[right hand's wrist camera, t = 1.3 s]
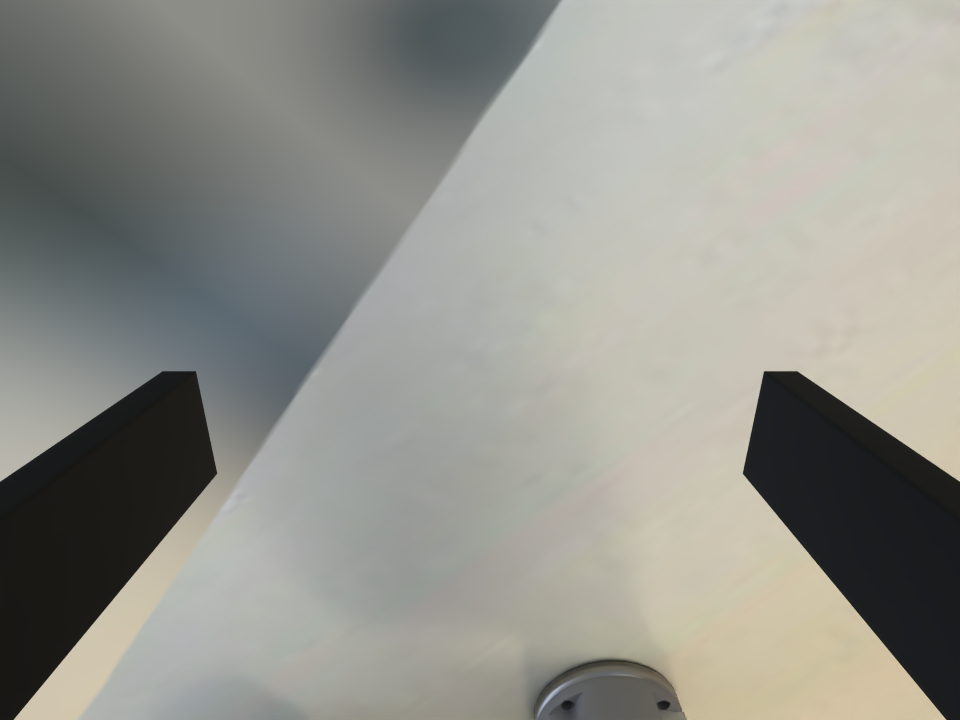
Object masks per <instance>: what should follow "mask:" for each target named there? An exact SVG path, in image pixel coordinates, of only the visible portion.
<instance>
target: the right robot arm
mask: <svg viewBox="0 0 960 720" xmlns="http://www.w3.org/2000/svg"><path fill="white" fill-rule="evenodd" d="M216 474H217V471H216V466H215V461H214V456H213V451H212V447H211V442H210V437H209V432H208V427H207V423H206V418H205V413H204V408H203V403H202V399H201V394H200V389H199V384H198V379H197V374H196V371H163V372H161V373H160V374H158V375H157V376H155V377H154V378H152V379H151V380H149V381H148V382H146V383H145V384H143V385H142V386H141V387H139V388H138V389H136V390H135V391H133V392H132V393H130V394H129V395H127V396H126V397H124V398H123V399H121V400H120V401H118V402H117V403H115V404H114V405H113V406H111V407H110V408H108V409H107V410H105V411H104V412H102V413H101V414H99V415H98V416H96V417H95V418H93V419H92V420H90V421H89V422H88V423H86V424H85V425H83V426H82V427H80V428H79V429H77V430H76V431H74V432H73V433H71V434H70V435H68V436H67V437H65V438H64V439H62V440H61V441H60V442H58V443H57V444H55V445H54V446H52V447H51V448H49V449H48V450H46V451H45V452H43V453H42V454H40V455H39V456H37V457H36V458H35V459H33V460H32V461H30V462H29V463H27V464H26V465H24V466H23V467H21V468H20V469H18V470H17V471H15V472H14V473H12V474H11V475H9V476H8V477H7V478H5V479H4V480H2V481H1V482H0V720H14V718H15V717H16V716H17V715H18V714H19V713H20V711H21V710H22V709H23V708H24V706H25V705H26V704H27V703H28V702H29V700H30V699H31V698H32V697H33V696H34V694H35V693H36V692H37V691H38V690H39V688H40V687H41V686H42V685H43V683H44V682H45V681H46V680H47V679H48V677H49V676H50V675H51V674H52V673H53V671H54V670H55V669H56V668H57V667H58V665H59V664H60V663H61V662H62V660H63V659H64V658H65V657H66V656H67V655H68V653H69V652H70V651H71V650H72V648H73V647H74V646H75V645H76V644H77V642H78V641H79V640H80V639H81V638H82V636H83V635H84V634H85V633H86V632H87V630H88V629H89V628H90V627H91V625H92V624H93V623H94V622H95V621H96V619H97V618H98V617H99V616H100V615H101V613H102V612H103V611H104V610H105V609H106V607H107V606H108V605H109V604H110V602H111V601H112V600H113V599H114V598H115V596H116V595H117V594H118V593H119V592H120V590H121V589H122V588H123V587H124V586H125V584H126V583H127V582H128V581H129V580H130V578H131V577H132V576H133V575H134V573H135V572H136V571H137V570H138V569H139V567H140V566H141V565H142V564H143V563H144V561H145V560H146V559H147V558H148V557H149V555H150V554H151V553H152V552H153V551H154V549H155V548H156V547H157V546H158V544H159V543H160V542H161V541H162V540H163V538H164V537H165V536H166V535H167V534H168V532H169V531H170V530H171V529H172V527H173V526H174V525H175V524H176V523H177V521H178V520H179V519H180V518H181V517H182V515H183V514H184V513H185V512H186V511H187V509H188V508H189V507H190V506H191V505H192V503H193V502H194V501H195V500H196V499H197V497H198V496H199V495H200V494H201V492H202V491H203V490H204V489H205V488H206V486H207V485H208V484H209V483H210V482H211V480H212V479H213V478H214V477H215V476H216ZM743 474H744V476H745V477H746V478H747V479H748V480H749V482H750V483H751V484H752V485H753V486H754V488H755V489H756V490H757V491H758V493H759V494H760V495H761V496H762V497H763V499H764V500H765V501H766V502H767V503H768V505H769V506H770V507H771V508H772V509H773V511H774V512H775V513H776V514H777V515H778V517H779V518H780V519H781V520H782V522H783V523H784V524H785V525H786V526H787V528H788V529H789V530H790V531H791V532H792V534H793V535H794V536H795V537H796V538H797V540H798V541H799V542H800V543H801V544H802V546H803V547H804V548H805V549H806V551H807V552H808V553H809V554H810V555H811V557H812V558H813V559H814V560H815V561H816V563H817V564H818V565H819V566H820V567H821V569H822V570H823V571H824V572H825V574H826V575H827V576H828V577H829V578H830V580H831V581H832V582H833V583H834V584H835V586H836V587H837V588H838V589H839V590H840V592H841V593H842V594H843V595H844V596H845V598H846V599H847V600H848V601H849V603H850V604H851V605H852V606H853V607H854V609H855V610H856V611H857V612H858V613H859V615H860V616H861V617H862V618H863V619H864V621H865V622H866V623H867V624H868V625H869V627H870V628H871V629H872V630H873V632H874V633H875V634H876V635H877V636H878V638H879V639H880V640H881V641H882V642H883V644H884V645H885V646H886V647H887V648H888V650H889V651H890V652H891V653H892V655H893V656H894V657H895V658H896V659H897V661H898V662H899V663H900V664H901V665H902V667H903V668H904V669H905V670H906V671H907V673H908V674H909V675H910V676H911V677H912V679H913V680H914V681H915V682H916V684H917V685H918V686H919V687H920V688H921V690H922V691H923V692H924V693H925V694H926V696H927V697H928V698H929V699H930V700H931V702H932V703H933V704H934V705H935V706H936V708H937V709H938V710H939V711H940V713H941V714H942V715H943V716H944V717H945V719H946V720H960V482H959V481H958V480H956V479H955V478H953V477H952V476H951V475H949V474H948V473H946V472H945V471H943V470H942V469H940V468H939V467H937V466H936V465H934V464H933V463H931V462H930V461H928V460H927V459H925V458H924V457H923V456H921V455H920V454H918V453H917V452H915V451H914V450H912V449H911V448H909V447H908V446H906V445H905V444H903V443H902V442H900V441H899V440H898V439H896V438H895V437H893V436H892V435H890V434H889V433H887V432H886V431H884V430H883V429H881V428H880V427H878V426H877V425H875V424H874V423H872V422H871V421H870V420H868V419H867V418H865V417H864V416H862V415H861V414H859V413H858V412H856V411H855V410H853V409H852V408H850V407H849V406H847V405H846V404H845V403H843V402H842V401H840V400H839V399H837V398H836V397H834V396H833V395H831V394H830V393H828V392H827V391H825V390H824V389H822V388H821V387H820V386H818V385H817V384H815V383H814V382H812V381H811V380H809V379H808V378H806V377H805V376H803V375H802V374H800V373H799V372H797V371H764V374H763V379H762V384H761V389H760V394H759V399H758V403H757V408H756V413H755V418H754V423H753V427H752V432H751V437H750V442H749V447H748V451H747V456H746V461H745V466H744V471H743ZM534 720H687V719H686V717H685V714H684V712H682V709H681V706H680V703H679V701H678V698H677V695H676V693H675V691H674V689H673V687H672V686H671V685H670V683H669V682H668V681H667V680H666V679H665V678H664V677H662V676H661V675H660V674H658V673H656V672H655V671H653V670H651V669H649V668H646V667H644V666H641V665H637V664H633V663H628V662H619V661H606V662H597V663H591V664H587V665H583V666H580V667H577V668H574V669H572V670H570V671H568V672H566V673H564V674H562V675H560V676H559V677H557V678H556V679H555V680H553V681H552V682H551V683H550V684H549V685H548V686H547V687H546V688H545V689H544V690H543V692H542V693H541V694H540V696H539V698H538V700H537V702H536V705H535V709H534Z"/></svg>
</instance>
